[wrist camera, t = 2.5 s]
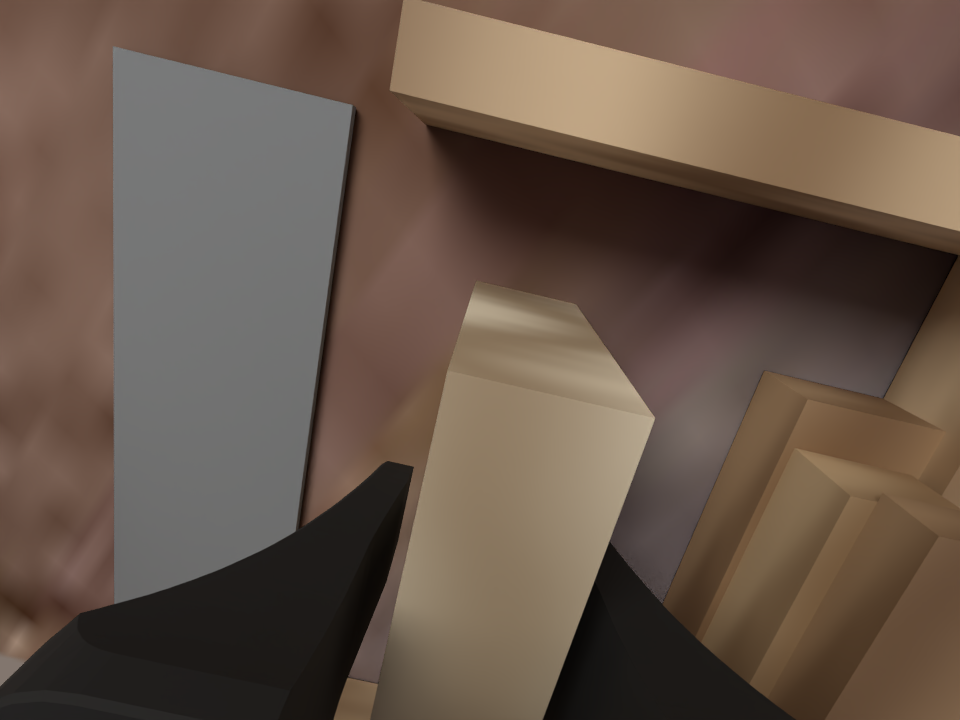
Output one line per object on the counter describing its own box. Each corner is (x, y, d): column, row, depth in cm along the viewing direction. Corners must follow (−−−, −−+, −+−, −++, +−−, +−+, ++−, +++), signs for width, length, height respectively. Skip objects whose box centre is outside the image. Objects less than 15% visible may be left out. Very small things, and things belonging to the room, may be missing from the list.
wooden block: (575, 303, 12) (655, 417, 6) (480, 625, 15) (464, 928, 9) (476, 279, 12) (447, 370, 6) (401, 608, 15) (329, 901, 9)
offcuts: (883, 398, 12) (1114, 520, 8) (739, 672, 15) (844, 881, 10) (764, 370, 12) (924, 476, 7) (642, 650, 15) (704, 853, 10)
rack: (1041, 212, 11) (1285, 219, 7) (719, 784, 16) (775, 935, 13) (436, 61, 10) (404, -4, 7) (322, 700, 16) (275, 833, 13)
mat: (356, 107, 11) (352, 105, 10) (280, 663, 16) (276, 670, 15) (122, 50, 10) (112, 46, 10) (120, 629, 15) (114, 635, 15)
